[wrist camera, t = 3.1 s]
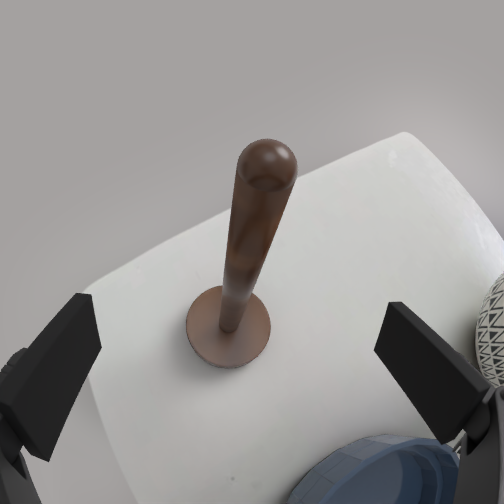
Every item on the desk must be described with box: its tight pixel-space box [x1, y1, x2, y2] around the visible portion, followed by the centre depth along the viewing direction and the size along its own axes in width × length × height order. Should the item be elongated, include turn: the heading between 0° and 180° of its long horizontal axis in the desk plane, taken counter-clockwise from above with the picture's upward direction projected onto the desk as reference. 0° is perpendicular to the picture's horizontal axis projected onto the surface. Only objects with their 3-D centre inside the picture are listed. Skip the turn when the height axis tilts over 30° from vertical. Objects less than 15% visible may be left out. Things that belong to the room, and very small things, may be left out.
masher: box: [186, 139, 298, 368], centre depth 16 cm, size 7×7×21 cm
